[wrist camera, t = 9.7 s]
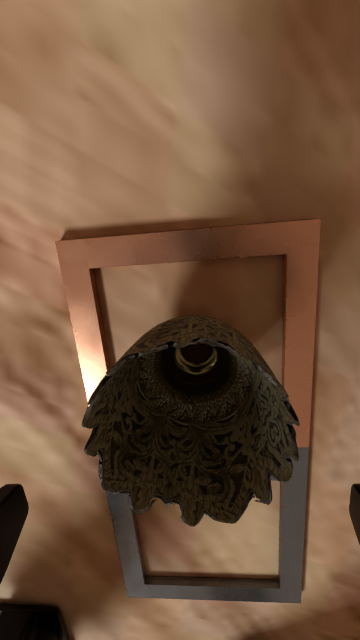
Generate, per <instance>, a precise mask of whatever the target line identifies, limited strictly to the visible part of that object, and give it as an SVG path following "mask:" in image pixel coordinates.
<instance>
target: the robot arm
mask: <svg viewBox="0 0 360 640" xmlns="http://www.w3.org/2000/svg"><path fill="white" fill-rule="evenodd" d="M28 509H29V507H28V502H27V499H26V496H25V492H24V489H23V487H22V485H21V484H6V485H4V486H3V487H1V488H0V584H1V581H2V579H3V577H4V575H5V572H6V570H7V567H8V565H9V562H10V560H11V557H12V554H13V552H14V549H15V546H16V544H17V541H18V538H19V536H20V533H21V531H22V528H23V525H24V523H25V520H26V517H27V514H28ZM349 512H350V517H351V520H352V523H353V526H354V529H355V532H356V535H357V538H358V541H359V544H360V484H353V485H352V487H351V495H350V505H349ZM0 640H69V637H68V634H67V631H66V628H65V625H64V621H63V618H62V615H61V612H60V610H59V609H58V608H56V607H40V606H15V605H0Z"/></svg>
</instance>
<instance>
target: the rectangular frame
mask: <svg viewBox="0 0 360 640" xmlns="http://www.w3.org/2000/svg"><path fill="white" fill-rule="evenodd" d="M320 226H321V219H307V220H295V221H283V222H271V223H259V224H247V225H235V226H224V227H212V228H200V229H188V230H176V231H164V232H152V233H140V234H129V235H117V236H105V237H93V238H81V239H69V240H59V241H55V243H56V248H57V253H58V258H59V263H60V268H61V273H62V278H63V282H64V287H65V292H66V297H67V302H68V307H69V312H70V317H71V322H72V326H73V331H74V336H75V341H76V346H77V351H78V356H79V361H80V366H81V370H82V375H83V380H84V385H85V390H86V395H87V400H88V401H89V399H90V397H91V395H92V393H93V392H94V390H95V389H96V388H97V386H98V384H99V383H100V381H101V380H102V379H103V378H104V376H105V375H106V372H107V371H108V370H109V369H110V365H109V359H108V353H107V347H106V341H105V336H104V330H103V324H102V318H101V312H100V306H99V301H98V295H97V289H96V283H95V277H94V272H93V268H104V267H117V266H131V265H144V264H158V263H171V262H185V261H198V260H212V259H226V258H239V257H253V256H266V255H280V254H284V298H283V354H282V386H283V388H284V389H285V390H286V392H287V394H288V396H289V401H290V403H291V405H292V407H293V409H294V411H295V413H296V415H297V417H298V420H299V423H300V425H299V426H297V425H293V427H294V429H295V431H296V442H297V447H298V453H299V461H298V462H296V461H295V460H293V459H291V460H292V463H293V466H294V467H293V472H292V477H291V479H290V480H289V481H288V482H282V481H280V520H279V576H278V580H270V579H234V578H199V577H163V576H146V574H145V568H144V562H143V556H142V550H141V545H140V539H139V533H138V527H137V521H136V515H135V512H134V511H133V510H132V508H131V507H130V505H129V499H128V498H129V494H116V493H110V492H107V491H106V493H107V498H108V503H109V507H110V512H111V517H112V522H113V527H114V532H115V537H116V542H117V547H118V551H119V556H120V561H121V566H122V571H123V576H124V581H125V586H126V591H127V596H128V597H138V598H166V599H194V600H223V601H251V602H279V603H301V590H302V571H303V552H304V533H305V514H306V494H307V475H308V456H309V437H310V418H311V399H312V379H313V360H314V341H315V322H316V303H317V283H318V264H319V245H320ZM271 480H276V479H275V478H273V476H271Z"/></svg>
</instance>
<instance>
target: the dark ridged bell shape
mask: <svg viewBox="0 0 360 640" xmlns="http://www.w3.org/2000/svg"><path fill="white" fill-rule="evenodd" d="M197 343H201V344H207V345H210V347H211V354H210V356H209V358H208V359H207V360H205V361H204V362H201V363H193V362H190V361H188V360H187V359H186V358H185V357H184V355H183V352H182V347H185V346H187V345H188V344H197ZM88 405H89V406H88V407H87V410H86V413H85V415H84V418H83V421H82V426H83V427H86V428H89V429H92V428H93V430H92V433H91V436H90V438H89V440H88V442H87V444H86V446H85V449H84V451H85V453H86V454H87V455H91V456H93V457H94V456H96V455H98V456H99V478H100V482H101V486H102V488H103V490H105V491H107V492H110V493H116V494H129V498H128V499H129V505H130V507H131V508H132V510H133V511H134V512H135V513H136V514H142V513H145V512H146V511H147V510H149V508H151V507H152V506H153V505H152V504H153V503H154V502H155V500H157V499H154V500H152V498H154V497H155V498H160V499H161V500H162V501H163V502H164V504H165V505H170V504H172V502H173V503H176V504H179V506H180V508H181V512H182V517H181V519H182V521H183V522H184V523H186V524H188V525H189V526H195V525H197V524H198V523H199V522H200V520H201V519H202V517H203V515H204V513H205V514H206V515H208V516H209V517H210V518H211V519H213V520H215V521H219V522H224V523H231V524H233V523H236V522H237V521H238V520H239V519H240V517H241V516H242V514H243V513H244V511H245V510H246V508H247V506H248V503H249V502H250V500H251V499H252V498H254V497H255V496H256V498H258V499H259V500H260V501H258V500H255V501H257V502H260V503H264V504H267V505H269V504H270V503H271V501H272V490H271V476H273V478H275V479H276V480H278V481H282V482H288V481H289V480H290V479H291V477H292V472H293V467H294V466H293V463H292V460H291V459H293V460H295V461H296V462H298V461H299V453H298V447H297V442H296V431H295V429H294V427H293V425H297V426H299V425H300V423H299V420H298V417H297V415H296V413H295V411H294V409H293V407H292V405H291V403H290V401H289V396H288V394H287V392H286V390H285V389H284V388H283V386H282V385H281V384H280V383H279V382H278V380H277V378H276V377H275V375H274V374H273V372H272V371H271V369H270V368H269V366H268V365H267V363H266V362H265V360H264V359H263V357H262V356H261V354H260V353H259V352H258V351H257V349H256V348H255V347H254V346H253V344H252V343H251V342H250V341H249V340H248V339H247V338H246V337H245V336H244V335H243V334H242V333H240V332H239V331H238V330H236V329H235V328H233V327H232V326H230V325H228V324H226V323H224V322H222V321H220V320H217V319H214V318H210V317H205V316H182V317H177V318H174V319H171V320H168V321H165V322H163V323H161V324H159V325H157V326H155V327H154V328H152V329H151V330H149V331H148V332H147V333H145V334H144V335H143V336H142V337H141V338H140V339H139V340H138V341H137V342H135V343H134V344H133V345H132V346H131V347H130V349H129V350H128V351H127V352H126V353H125V354H124V355H123V356H122V357H121V358H120V359H119V360H118V361H117V363H116V364H115V365H114V366H113V367H112V368H110V369H109V370H108V371H107V372H106V375H105V376H104V378H103V379H102V380H101V381H100V383H99V384H98V386H97V388H96V389H95V390H94V392H93V393H92V395H91V397H90V399H89V401H88ZM97 452H98V454H97ZM254 494H255V496H254ZM151 500H152V501H151ZM150 501H151V503H150ZM173 505H174V504H173Z"/></svg>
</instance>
